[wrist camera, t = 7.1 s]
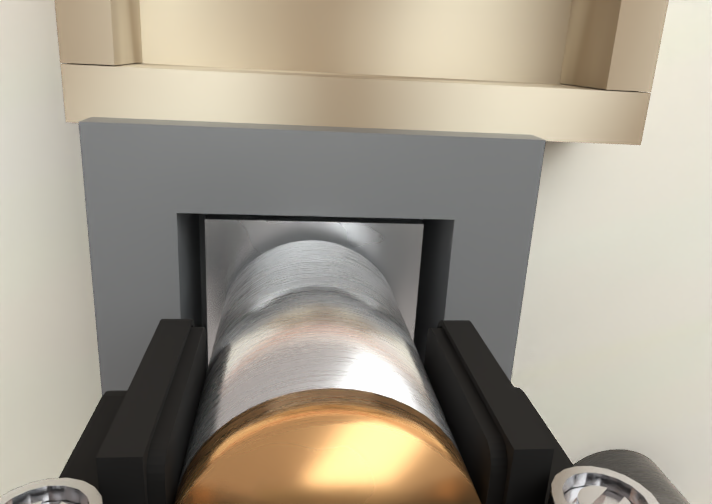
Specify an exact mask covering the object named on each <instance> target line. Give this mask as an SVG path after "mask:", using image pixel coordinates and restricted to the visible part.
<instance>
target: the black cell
mask: <svg viewBox="0 0 712 504" xmlns="http://www.w3.org/2000/svg"><path fill="white" fill-rule="evenodd" d="M575 466H594V467H599V468H605V469H609V470H612V471H615V472H617V473H620V474H623V475H625V476H627V477H629V478H630V479H632V480H634V481H636V482H638V483H639V484H641V485H642V486H643V487H644V488H646V489H647V490H648V491H649V492H650V493H652V494H653V496H654V497H655V498H656V500H657V501H658V502H659V504H690V503H689V502H688V501H687V500H686V499H685V498H684V497H683V495H682V494H681V493H680V492H679V491H678V490H677V488H676V487H675V486H674V485H673V484H672V483H671V482H670V480H669V479H668V478H667V477H666V476H665V475H664V474H663V472H662V471H661V470H660V469H659V468H658V467H657V466H656V464H655V463H654V462H653V461H651V460H650V459H649V458H647V457H646V456H644V455H642V454H640V453H637V452H634V451H629V450H607V451H602V452H599V453H595V454H593V455H590V456H588V457H586V458H584V459H582V460H580V461H578V462H577V463H576V464H574V467H575Z"/></svg>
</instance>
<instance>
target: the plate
mask: <svg viewBox="0 0 712 504" xmlns="http://www.w3.org/2000/svg"><path fill="white" fill-rule="evenodd" d="M423 228H424V224H423V222H422V221H421V220H420V219H405V218H364V217H323V216H282V215H241V214H207V216H206V218H205V251H206V291H207V331H208V366H209V362H210V358H211V354H212V350H213V346H214V342H215V338H216V334H217V330H218V326H219V322H220V318H221V314H222V310H223V306H224V302H225V299H226V297H227V294H228V291H229V289H230V287H231V286H232V284H233V282H234V280H235V279H236V278H237V276H238V275H239V274H240V272H241V271H242V270H243V269H244V268H245V267H246V266H247V265H248V264H249V263H250V262H252V261H253V260H254V259H255V258H257V257H258V256H260V255H261V254H263V253H265V252H266V251H268V250H271V249H273V248H275V247H277V246H280V245H284V244H287V243H291V242H297V241H306V240H318V241H327V242H332V243H337V244H340V245H342V246H345V247H348V248H350V249H352V250H354V251H356V252H358V253H360V254H361V255H363V256H364V257H366V258H367V259H368V260H369V261H370V262H372V263H373V264H374V265H375V266H376V267H377V268H378V269H379V271H380V272H381V273H382V274H383V276H384V277H385V279H386V280H387V282H388V284H389V286H390V288H391V290H392V292H393V295H394V297H395V300H396V302H397V304H398V307H399V309H400V311H401V314H402V316H403V319H404V321H405V323H406V326H407V328H408V330H409V333H410V335H411V338H412V340H414V329H415V318H416V307H417V295H418V284H419V273H420V262H421V250H422V239H423Z"/></svg>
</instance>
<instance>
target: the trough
mask: <svg viewBox="0 0 712 504" xmlns="http://www.w3.org/2000/svg"><path fill="white" fill-rule="evenodd" d="M668 2H669V0H55V10H56V21H57V31H58V42H59V53H60V63H67V64H61V75H62V85H63V96H64V107H65V118H66V122H71V123H79V121H82V120H85V119H87V118H90V117H107V118H131V119H156V120H181V121H205V122H230V123H255V124H280V125H304V126H329V127H354V128H378V129H403V130H428V131H453V132H477V133H502V134H527V135H533V136H536V137H539V138H542V139H544V140H546V141H554V142H579V143H605V144H630V145H641V141H642V136H643V130H644V125H645V120H646V115H647V110H648V105H649V100H650V94H651V93H646V92H651V89H652V84H653V79H654V74H655V69H656V63H657V58H658V53H659V48H660V43H661V38H662V32H663V27H664V22H665V17H666V12H667V7H668ZM639 91H644V92H639Z"/></svg>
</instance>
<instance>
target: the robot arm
mask: <svg viewBox="0 0 712 504" xmlns="http://www.w3.org/2000/svg"><path fill="white" fill-rule="evenodd" d="M424 369H425V371H426V373H427V376H428V378H429V380H430V383H431V385H432V388H433V390H434V392H435V395H436V397H437V399H438V402H439V404H440V407H441V409H442V411H443V414H444V416H445V418H446V421H447V423H448V426H449V428H450V430H451V433H452V435H453V438H454V440H455V442H456V445H457V447H458V449H459V452H460V454H461V457H462V459H463V461H464V464H465V466H466V468H467V471H468V473H469V476H470V478H471V480H472V483H473V485H474V487H475V490H476V492H477V495H478V497H479V499H480V502H481V504H659V502H658V501H657V500H656V498H655V497H654V496H653V494H652V493H650V492H649V491H648V490H647V489H646V488H644V487H643V486H642V485H641V484H639V483H638V482H636V481H634V480H632V479H630V478H629V477H627V476H625V475H623V474H620V473H617V472H615V471H612V470H609V469H605V468H599V467H594V466H575V467H574V465H573V464H572V463H571V461H570V460H569V458H568V457H567V455H566V454H565V452H564V451H563V449H562V448H561V446H560V445H559V443H558V442H557V440H556V439H555V437H554V436H553V434H552V433H551V431H550V430H549V428H548V427H547V426H546V424H545V423H544V421H543V420H542V418H541V417H540V415H539V414H538V412H537V411H536V409H535V408H534V406H533V405H532V403H531V402H530V400H529V399H528V397H527V396H526V394H525V393H524V392H523V391H522V390H521V389H520V388H516V387H514V386H513V385H512V383H511V382H510V380H509V379H508V377H507V376H506V374H505V373H504V371H503V370H502V368H501V367H500V365H499V364H498V362H497V361H496V359H495V358H494V356H493V354H492V353H491V351H490V350H489V348H488V347H487V345H486V344H485V342H484V341H483V339H482V338H481V336H480V335H479V333H478V332H477V330H476V329H475V327H474V326H473V324H472V322H471V321H469V320H440V321H439V323H438V326H437V328H429V329H428V332H427V340H426V350H425V360H424ZM206 373H207V358H206V331H205V327H195V325H194V320H193V319H161V320H160V322H159V324H158V326H157V328H156V331H155V333H154V335H153V337H152V339H151V341H150V343H149V345H148V348H147V350H146V352H145V354H144V356H143V358H142V360H141V363H140V365H139V367H138V369H137V371H136V373H135V375H134V378H133V380H132V382H131V384H130V386H129V388H128V390H115V391H106V392H105V393H104V395H103V396H102V398H101V400H100V402H99V403H98V405H97V407H96V409H95V411H94V413H93V415H92V417H91V418H90V420H89V422H88V424H87V426H86V428H85V430H84V432H83V433H82V435H81V437H80V439H79V441H78V443H77V445H76V447H75V449H74V450H73V452H72V454H71V456H70V458H69V460H68V462H67V464H66V465H65V467H64V469H63V471H62V473H61V475H60V477H59V478H49V479H45V480H40V481H36V482H31V483H28V484H26V485H23V486H21V487H18V488H16V489H13V490H11V491H9V492H7V493H6V494H4V495H3V496H1V497H0V504H174V500H175V496H176V492H177V488H178V484H179V481H180V477H181V473H182V469H183V465H184V461H185V457H186V453H187V449H188V445H189V441H190V437H191V433H192V429H193V425H194V421H195V417H196V413H197V409H198V405H199V401H200V397H201V393H202V389H203V385H204V381H205V377H206Z"/></svg>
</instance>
